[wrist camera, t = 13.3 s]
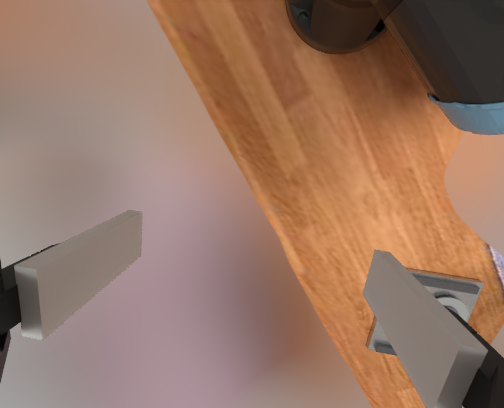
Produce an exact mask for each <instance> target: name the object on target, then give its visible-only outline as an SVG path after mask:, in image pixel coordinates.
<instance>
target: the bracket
mask: <svg viewBox="0 0 504 408" xmlns="http://www.w3.org/2000/svg"><path fill="white" fill-rule="evenodd" d="M436 299H437V300H438V301H439V302H440V303H441V304H442V305H445V306H446V307H448V308H449V309H451V310H452V311H454V312H455V313H457V314H458V315H459V316H460V317H461V318H462V319H464V320H465V321H466V320H467V318H468V309H467V307H466V305H465V304H464V303H463V302H462V301H460V300H458V299H456V298H453V297H439V298H436Z"/></svg>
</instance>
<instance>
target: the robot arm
mask: <svg viewBox="0 0 504 408" xmlns="http://www.w3.org/2000/svg"><path fill="white" fill-rule="evenodd" d="M286 8H287V13H288V16H289V19H290V21H291V24H292V26H293V28H294V29H295V31H296V32H297V34H298V35H299V36H300V37H301V39H302V40H303V41H305V42H306V43H307V44H308V45H310V46H311V47H313V48H315V49H317V50H319V51H321V52H325V53H329V54H346V53H351V52H354V51H357V50H360V49H362V48H364V47H366V46H368V45H369V44H371V43H372V42H374V41H375V40H376V39H377V38H379V37H380V36H381V35H382V34H383V33H384V32H385V31H386V30H387V29H388V30H389V32H390V33H391V35H392V36H393V38H394V39H395V41H396V43H397V44H398V46H399V47H400V49H401V50H402V52H403V54H404V55H405V57H406V58H407V60H408V61H409V63H410V65H411V66H412V68H413V69H414V71H415V72H416V74H417V76H418V77H419V79H420V80H421V82H422V83H423V85H424V87H425V88H426V90H427V91H428V93H427V95H428V97H429V99H430V100H431V101H432V102H433V103H435V104H437V105H438V106H439V107H440V109H441V110H442V111H443V113H444V114H445V115H446V117H447V118H448V119H449V121H450V122H451V123H452V124H453V125H454V126H455V127H457V128H458V129H460V130H464V131H469V132H472V133H474V134H483V135H498V134H504V0H286ZM141 242H142V212H139V211H133V210H128V211H126V212H124V213H122V214H120V215H118V216H116V217H114V218H112V219H110V220H108V221H105V222H103V223H101V224H99V225H97V226H95V227H93V228H91V229H89V230H87V231H85V232H83V233H80V234H78V235H76V236H74V237H72V238H70V239H68V240H66V241H64V242H62V243H59V244H56V245H52V246H49V247H47V248H45V249H43V250H41V251H40V252H37V253H35V254H33V255H31V257H30V256H29V257H26V258H24V259H22V260H20V261H18V262H16V263H14V264H12V265H9V266H7V267H5V268H3V269H1V261H0V382H1V378H2V373H3V369H4V365H5V361H6V357H7V352H8V348H9V344H10V340H11V337H10V329H11V328H13V327H14V326H15V325H17V324H18V323H20V322H21V329H22V336H24V337H29V338H34V339H39V340H44V339H45V338H46V337H47V336H49V335H50V334H51V333H52V332H53V331H54V330H56V329H57V328H58V327H59V326H60V325H61V324H63V323H64V322H65V321H66V320H67V319H68V318H69V317H70V316H72V315H73V314H74V313H75V312H76V311H78V310H79V309H80V308H81V307H82V306H83V305H85V304H86V303H87V302H88V301H89V300H90V299H92V298H93V297H94V296H95V295H96V294H97V293H98V292H100V291H101V290H102V289H103V288H104V287H105V286H107V285H108V284H109V283H110V282H111V281H112V280H114V279H115V278H116V277H117V276H118V275H119V274H120V273H122V272H123V271H124V270H125V269H126V268H127V267H129V266H130V265H131V264H132V263H133V262H134V261H136V260H137V259H138V258H139V257H140V256H141ZM363 295H364V297H365V299H366V301H367V302H368V304H369V306H370V308H371V310H372V311H373V313H374V315H375V317H376V319H377V320H378V322H379V324H380V326H381V328H382V329H383V331H384V333H385V335H386V336H387V338H388V340H389V342H390V344H391V345H392V347H393V349H394V351H395V353H396V354H397V356H398V358H399V360H400V362H401V363H402V365H403V367H404V369H405V370H406V372H407V374H408V376H409V378H410V379H411V381H412V383H413V385H414V387H415V388H416V390H417V392H418V394H419V396H420V397H421V399H422V401H423V403H424V405H425V406H426V408H462V406H463V407H464V408H504V358H503V357H502V356H501V355H500V354H499V353H498V352H497V351H496V350H495V349H494V348H493V347H492V346H491V345H489V344H488V343H487V342H486V341H485V340H484V339H483V338H482V337H481V336H480V335H479V334H477V332H476V331H475V330H474V329H473V328H472V327H471V326H469V325H468V323H467V322H466V321H465V320H464V319H462V318H461V317H460V316H459V315H458V314H457V313H455V312H454V311H452V310H451V309H449V308H448V307H446V306H445V305H442V304H441V303H440V302H439V301H438V300H437V299H436V298H435V297H434V296H433V295H432V294H431V293H430V292H429V291H428V290H427V289H426V288H425V287H424V286H423V285H422V284H421V283H420V282H419V281H418V280H417V279H416V278H415V277H414V276H413V275H412V274H411V273H410V272H409V271H408V270H407V269H406V268H405V267H404V266H403V265H402V264H401V263H400V262H399V261H398V260H397V259H396V258H395V257H394V256H393V255H392V254H391V253H390V252H386V251H380V250H375V252H374V255H373V259H372V262H371V266H370V269H369V273H368V276H367V280H366V283H365V287H364V290H363Z"/></svg>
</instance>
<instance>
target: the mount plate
mask: <svg viewBox="0 0 504 408" xmlns="http://www.w3.org/2000/svg"><path fill="white" fill-rule="evenodd" d="M406 269H407V270H408V271H409V272H410V273H411V274H412V275H413V276H414V277H415V278H416V279H417V280H418V281H419V282H420V283H421V284H422V285H423V286H424V287H425V288H426V289H427V290H428V291H429V292H430V293H431V294H432V295H433V296H434V297H435V298H439V297H453V298H456V299H458V300H460V301H462V302H463V303H464V304H465V305H466V307H467V309H468V318H467V320H466V322H468V320H469V317H470V315H471V313H472V310H473V308H474V306H475V303H476V301H477V298H478V296H479V294H480V291H481V289H482V287H483V284H484V283H483V282H481V281H480V280H476V279H470V278H464V277H458V276H452V275H446V274H440V273H434V272H428V271H422V270H415V269H409V268H406ZM366 346H367V348H368V349H369V350H374V351H376V352H380V353H386V354H391V355H397V354H396V353H395V351H394V349H393V347H392V345H391V344H390V342H389V340H388V338H387V336H386V335H385V333H384V331H383V329H382V328H381V326H380V324H379V322H378V320H377V319H376V317H374V321H373V324H372V327H371V330H370V334H369V337H368V340H367V343H366Z"/></svg>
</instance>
